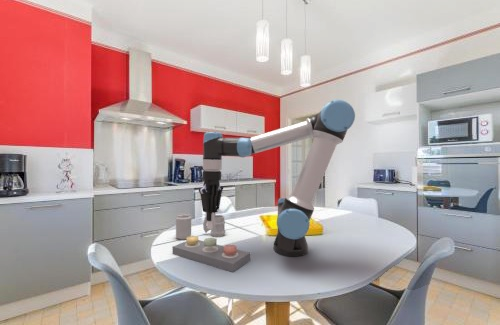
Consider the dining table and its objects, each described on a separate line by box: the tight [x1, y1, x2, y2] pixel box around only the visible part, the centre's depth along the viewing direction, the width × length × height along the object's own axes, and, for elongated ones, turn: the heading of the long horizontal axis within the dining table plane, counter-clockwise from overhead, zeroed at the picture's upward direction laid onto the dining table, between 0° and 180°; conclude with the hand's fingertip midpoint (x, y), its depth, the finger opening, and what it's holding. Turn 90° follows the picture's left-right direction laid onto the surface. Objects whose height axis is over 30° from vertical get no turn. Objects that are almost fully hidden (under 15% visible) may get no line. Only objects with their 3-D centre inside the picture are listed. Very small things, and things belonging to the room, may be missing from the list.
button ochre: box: [185, 235, 199, 245], centre depth 102 cm, size 5×5×2 cm
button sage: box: [203, 237, 218, 247], centre depth 97 cm, size 5×5×2 cm
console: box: [172, 239, 251, 273], centre depth 97 cm, size 31×12×3 cm, turn 59°
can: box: [175, 212, 192, 241], centre depth 120 cm, size 8×8×12 cm
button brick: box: [223, 244, 238, 255], centre depth 92 cm, size 5×5×2 cm
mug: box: [202, 212, 226, 238], centre depth 125 cm, size 8×12×12 cm, turn 91°
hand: (210, 228), depth 96 cm, fingers closed
